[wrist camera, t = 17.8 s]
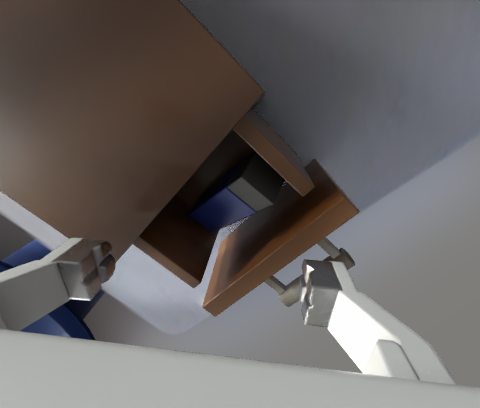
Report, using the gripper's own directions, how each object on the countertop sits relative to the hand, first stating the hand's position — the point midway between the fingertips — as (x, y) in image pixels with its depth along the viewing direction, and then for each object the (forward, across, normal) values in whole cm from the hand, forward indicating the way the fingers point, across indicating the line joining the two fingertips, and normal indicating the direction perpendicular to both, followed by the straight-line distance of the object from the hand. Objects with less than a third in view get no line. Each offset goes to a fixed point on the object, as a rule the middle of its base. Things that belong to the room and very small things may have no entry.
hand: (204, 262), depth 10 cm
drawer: (+11, 0, 0) cm, 11 cm away
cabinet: (+12, +8, -6) cm, 16 cm away
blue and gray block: (+6, +1, -1) cm, 7 cm away
